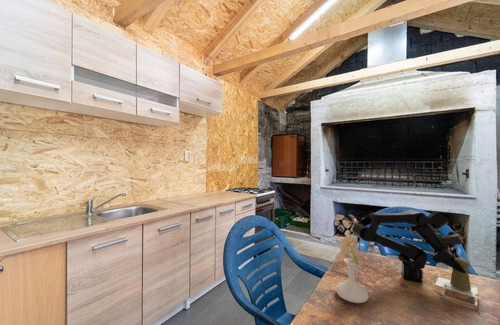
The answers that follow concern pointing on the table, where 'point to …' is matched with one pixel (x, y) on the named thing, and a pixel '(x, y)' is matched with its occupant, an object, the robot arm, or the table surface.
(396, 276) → the table surface
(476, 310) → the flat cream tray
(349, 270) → the flower in vase
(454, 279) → the cork
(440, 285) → the white flat panel
